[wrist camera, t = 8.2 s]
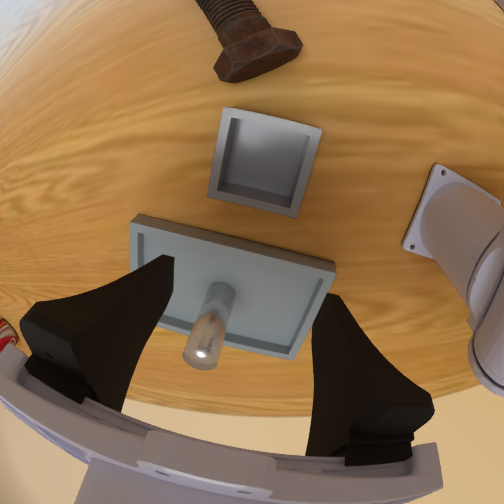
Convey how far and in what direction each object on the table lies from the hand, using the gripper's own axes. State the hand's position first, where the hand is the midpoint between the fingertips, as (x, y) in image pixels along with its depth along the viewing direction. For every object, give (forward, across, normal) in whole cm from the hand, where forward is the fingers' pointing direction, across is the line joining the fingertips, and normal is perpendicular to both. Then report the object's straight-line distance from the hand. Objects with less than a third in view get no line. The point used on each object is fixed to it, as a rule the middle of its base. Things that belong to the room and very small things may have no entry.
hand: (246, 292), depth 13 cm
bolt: (+11, +6, -17) cm, 21 cm away
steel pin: (+10, +2, +9) cm, 13 cm away
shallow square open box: (+10, +1, -4) cm, 11 cm away
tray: (+10, +2, +9) cm, 14 cm away
